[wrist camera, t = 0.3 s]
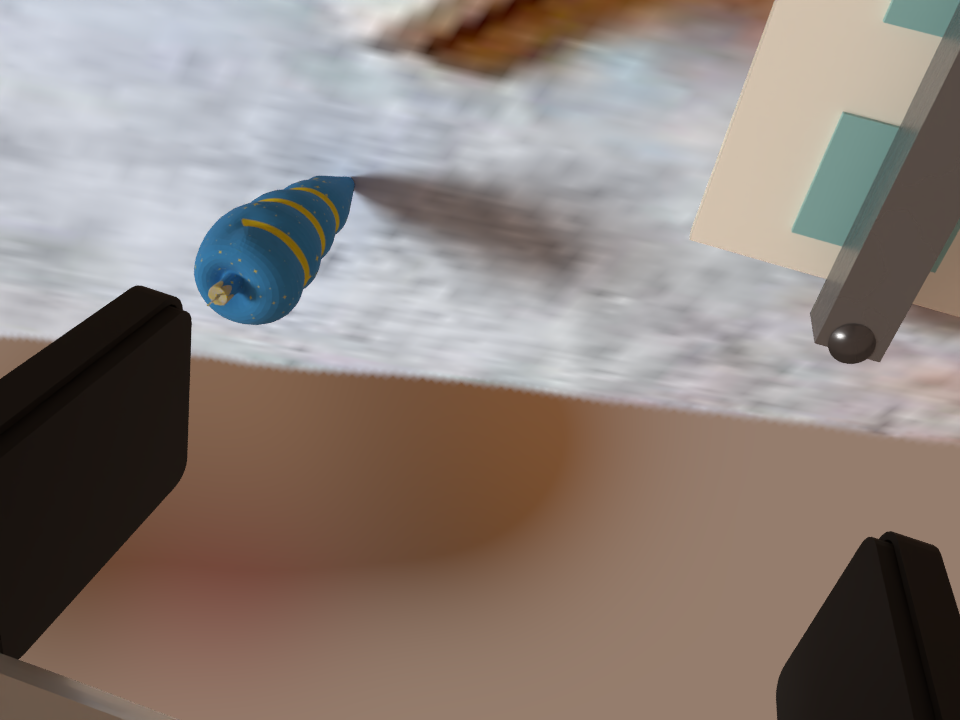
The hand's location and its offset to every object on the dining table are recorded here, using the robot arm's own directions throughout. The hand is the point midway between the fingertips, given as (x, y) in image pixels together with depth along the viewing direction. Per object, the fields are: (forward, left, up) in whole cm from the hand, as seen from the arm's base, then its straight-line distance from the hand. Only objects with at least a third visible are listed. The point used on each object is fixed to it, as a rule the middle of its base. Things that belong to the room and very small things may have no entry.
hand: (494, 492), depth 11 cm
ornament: (+12, -15, -35) cm, 40 cm away
